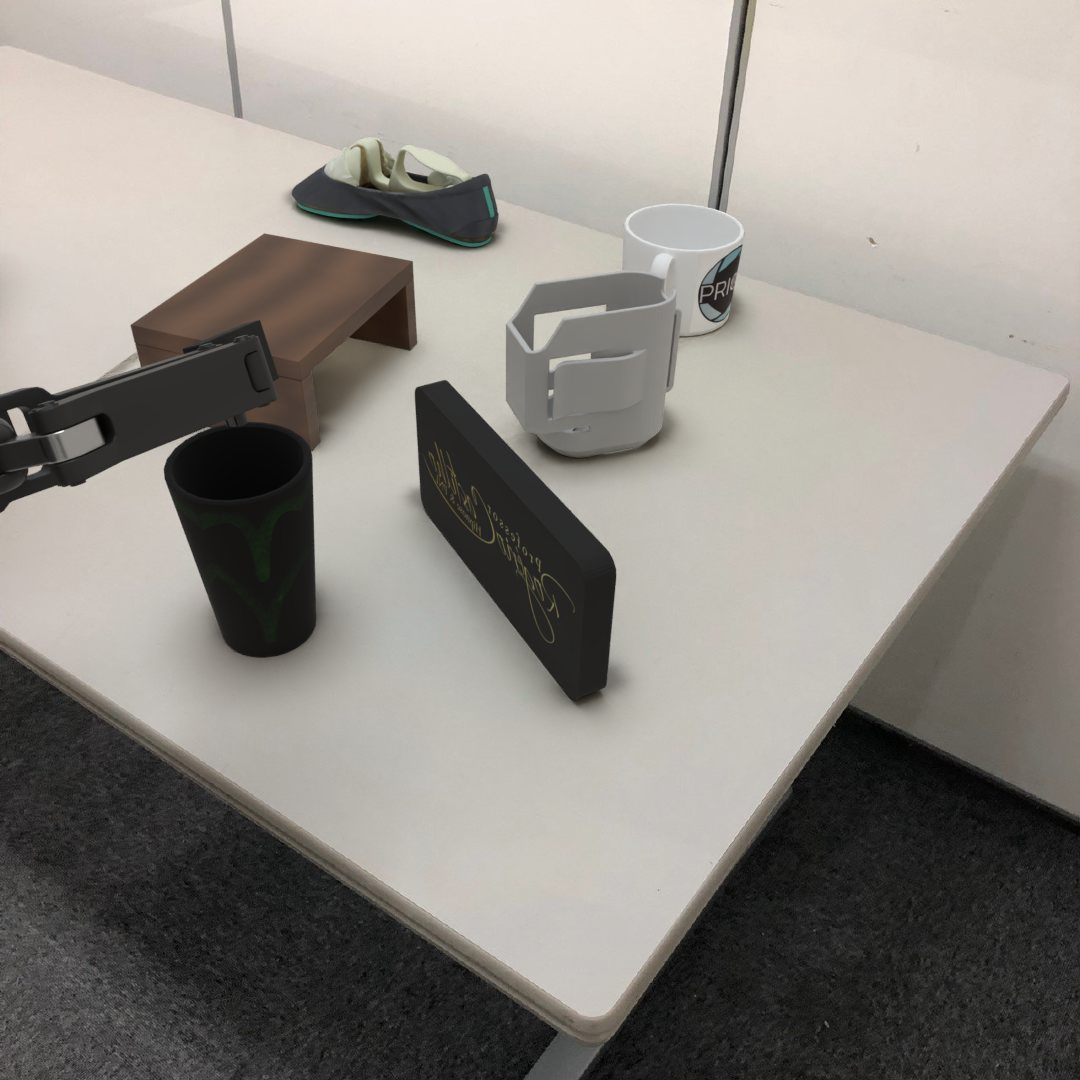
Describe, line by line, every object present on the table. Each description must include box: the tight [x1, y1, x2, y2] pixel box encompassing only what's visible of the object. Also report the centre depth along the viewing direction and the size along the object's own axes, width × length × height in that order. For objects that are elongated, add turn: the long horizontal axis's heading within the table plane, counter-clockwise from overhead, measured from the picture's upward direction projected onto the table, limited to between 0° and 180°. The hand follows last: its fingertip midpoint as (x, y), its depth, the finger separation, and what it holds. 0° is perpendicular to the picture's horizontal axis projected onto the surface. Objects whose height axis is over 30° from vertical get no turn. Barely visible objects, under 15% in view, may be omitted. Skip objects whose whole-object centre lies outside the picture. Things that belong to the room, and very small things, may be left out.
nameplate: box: [414, 379, 617, 701], centre depth 63 cm, size 21×2×10 cm, turn 29°
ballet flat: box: [291, 136, 500, 248], centre depth 109 cm, size 8×24×8 cm, turn 63°
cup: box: [163, 422, 317, 658], centre depth 60 cm, size 8×8×12 cm
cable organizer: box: [505, 270, 682, 459], centre depth 76 cm, size 7×12×12 cm, turn 110°
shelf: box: [130, 232, 418, 452], centre depth 84 cm, size 14×18×8 cm
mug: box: [621, 203, 746, 337], centre depth 93 cm, size 13×10×8 cm
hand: (128, 382), depth 49 cm, fingers open, 13 cm apart
